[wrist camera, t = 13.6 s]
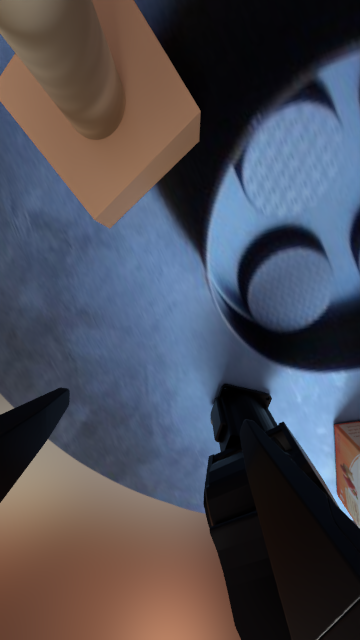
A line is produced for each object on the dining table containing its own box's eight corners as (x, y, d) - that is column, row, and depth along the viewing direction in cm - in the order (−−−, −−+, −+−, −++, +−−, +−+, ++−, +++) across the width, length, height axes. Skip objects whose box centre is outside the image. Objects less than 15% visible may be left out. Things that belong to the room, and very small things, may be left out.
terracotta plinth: (113, 4, 14) (93, -67, 11) (199, 141, 16) (200, 111, 13) (26, 122, 16) (-9, 89, 14) (109, 228, 18) (94, 219, 15)
